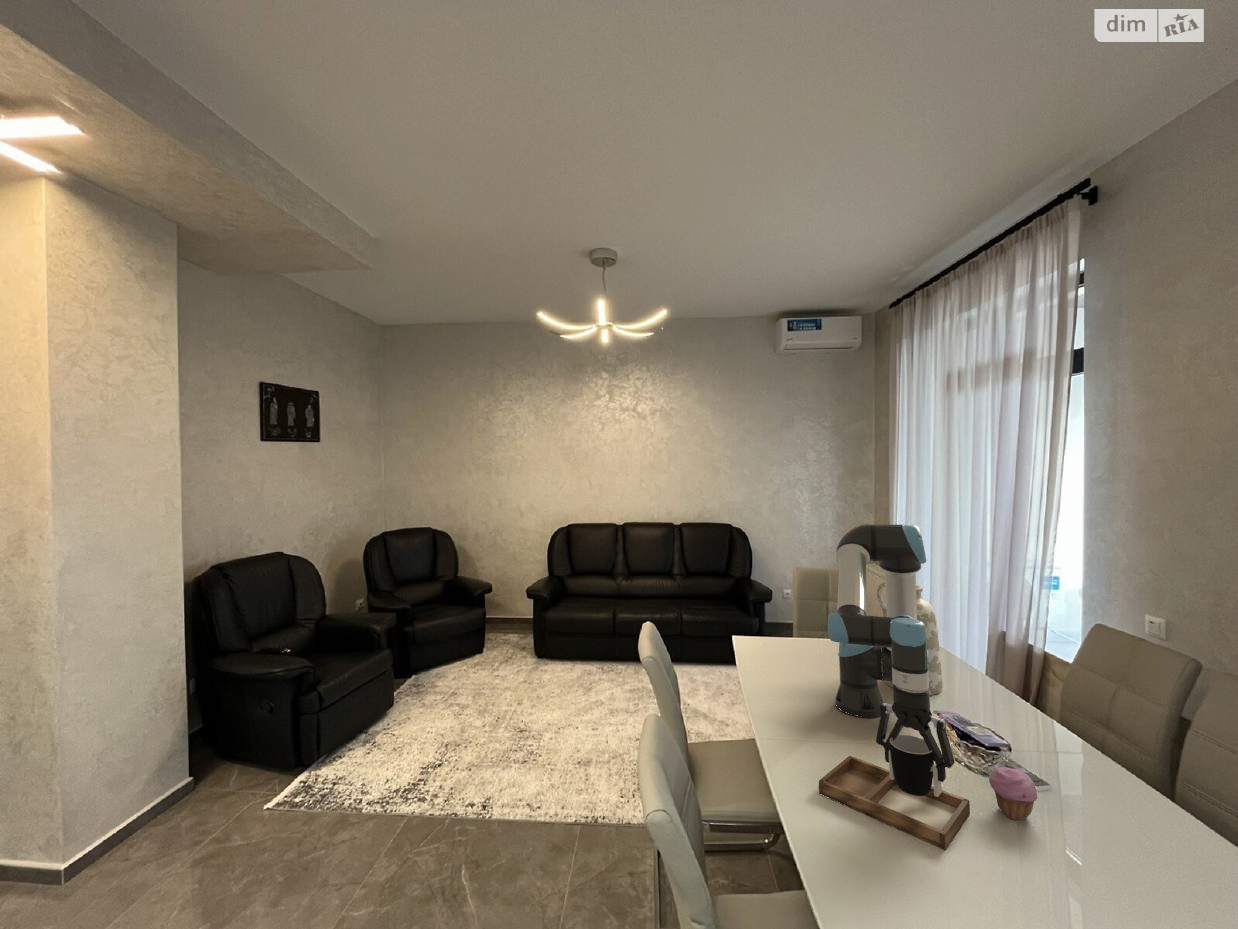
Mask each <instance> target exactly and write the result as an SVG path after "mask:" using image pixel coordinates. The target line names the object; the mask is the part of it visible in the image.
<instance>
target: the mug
mask: <svg viewBox="0 0 1238 929" xmlns="http://www.w3.org/2000/svg"><path fill="white" fill-rule="evenodd" d="M890 754H891V762H892V768H893V773H894V777H895V781H896V783H897V785H898V787H899V788H900V789H901V790H902V791H904V792H905V793H908V794H910V795H914V796H925V795H927V794H928V793H929V792H930V790H931V786H933V765H934V764H935V761H934V759H933V752H932V750H931V751H929V749H928V747H927V745H926V743H925V741H924V739H923V738H921V737H918V736H915V735H910V734H909V735H908V734H899V735H898V736H897V737H896V739H895V740H894V741H893V738H892V737H891V738H890Z"/></svg>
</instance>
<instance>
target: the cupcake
mask: <svg viewBox="0 0 1238 929" xmlns="http://www.w3.org/2000/svg"><path fill="white" fill-rule="evenodd" d="M988 780H989V784H990V786H991V787H990V788H992V789H993V791H994V795H995V798H996V804H997V806H998V808H999V810H1000V811H1001V812H1002V813H1004V814H1005V815H1006V816H1007V817H1008V818H1009V819H1010V820H1012V821H1013V820H1014V821H1018V820H1022V819H1026V818H1028V817H1029V816H1030V815H1031V813H1032V812H1033V807H1034V802H1035V801H1037V800H1038V792H1037V787H1036V785H1035V782H1034V781H1033V780H1032V778H1031V777H1030V776H1029V775H1028V773H1025V772H1024V771H1021V770H1019V769H1014V768H1011V767H1004V766H1001V767H997V768H995V769H994V770H993V771H992V772H991V773H990V774H989V777H988Z"/></svg>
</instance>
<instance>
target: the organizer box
mask: <svg viewBox="0 0 1238 929" xmlns="http://www.w3.org/2000/svg"><path fill="white" fill-rule="evenodd" d="M818 794H819V795H820V794H822V795H821V796H823V795H824V796H823V797H825V796H826V797H825V798H827V797H829V798H830V800H832V801H834V800H835V802H836V801H838V802H840V803H839V804H841V803H842V804H841V805H843V804H845V805H846V806H845V805H844V806H845V807H847V806H848V808H850V809H852V810H854V811H856V812H859V813H861V814H863V815H865V816H868V817H870V818H873V819H874V820H876V821H879V822H881V823H883V824H885V825H888V826H890V827H892V828H895V829H897V830H900V831H901V832H903V833H906V834H907V835H910V836H913V837H915V838H917V839H919V840H922V841H924V842H926V843H928V844H930V845H932V846H935V847H938V848H939V849H941V850H944V851H946V850H947V849H948V848H949V847H950V845H951V843H952V841H953V840H954V839H955V838H956V836H957V835H958V833H959V831H960V830H961V828H962V827H963V826H964V824H965V823H966V821H967V820H968V818H969V817H970V814H971V808H970V804H971V803H970V800H969V799H967V798H964V797H961V796H959V795H957V794H954V793H952V792H948V791H947V790H943V789H942V793H941V794H940V795H939V796H938V797H936V796H934V785H932V786H931V790H930V792H929V793H928V794H927V795H925V796H914V795H910V794H908V793H905V792H904V791H902V790H901V789H900V788H899V787H898V785H897V783H896V781H895V779H894V780H892V779H890V771H889V769H887V768H883V767H881V766H878V765H876V764H873V763H870V762H867V761H866V760H862V759H860V758H857V757H854V756H852V755H848V756H847V757H846V758H845V759H843V760H842V761H841V762H839V764H837V765H836V766H835V767H834V768H833V769H831V770H829V772H827V773H826V774H825V775H824V776H822V778H820V779H819V780H818ZM829 798H828V799H829ZM838 802H837V803H838Z"/></svg>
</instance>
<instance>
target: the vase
mask: <svg viewBox="0 0 1238 929" xmlns="http://www.w3.org/2000/svg"><path fill="white" fill-rule="evenodd" d="M884 588H886V584H885V581H884V582H882V583H880V584H879V585H878V586H877V590H876V598H877V600H878V601H877V602H878V604H879V606H880V609H881V611H882V617H887V607H886V603H885V601H884V598H883V594H882V593H883V592H882V591H883V589H884ZM923 591H924V588H923V586H921V585H918V584H916V602H917V620H919V621H921V622H923V623H924V624H925V627H926V633H927V650H928V653H929V670H928V678H929V688H928V689H927V690H928V691H929V696H933V695H938V694H940V693H941V692H942V691H943V690H944V689H943V675H942V662H941V661H942V660H941V650H940V640H939V633H938V632H939V631H938V625H937V624H938V623H937V616H936V612H935V609H934V608H933V606H932V605H931V603H930V602H929V601H927V600H926V599H925V598H923V597H922V592H923ZM885 682H886V684H887V685H888V684H889V685H890V686H891V687H890V686H889V685H888V686H889V687H890V688H891V689H893V686H894V684H893V682H890V681H885Z"/></svg>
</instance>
